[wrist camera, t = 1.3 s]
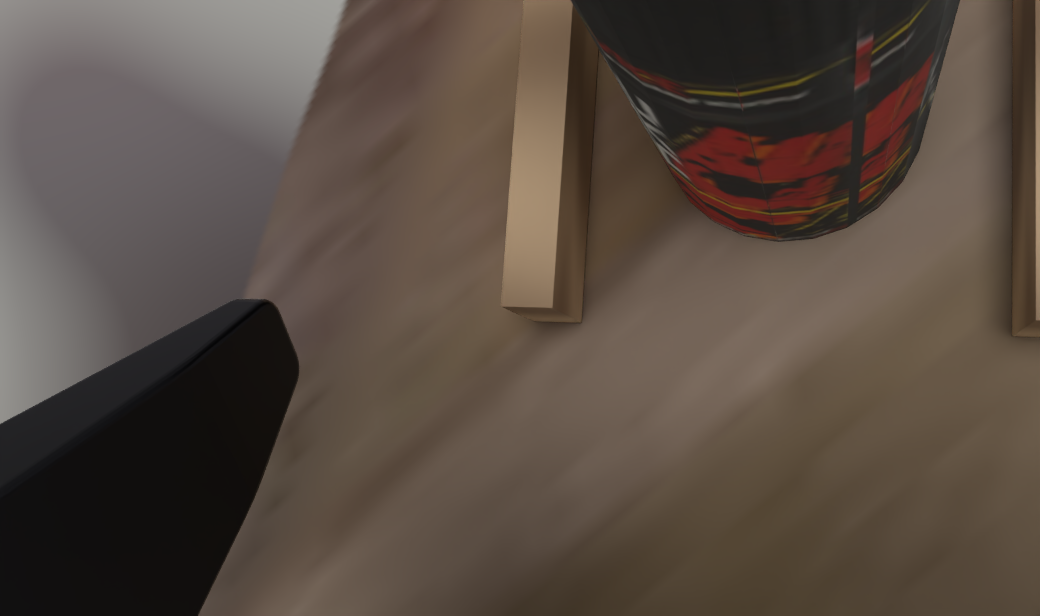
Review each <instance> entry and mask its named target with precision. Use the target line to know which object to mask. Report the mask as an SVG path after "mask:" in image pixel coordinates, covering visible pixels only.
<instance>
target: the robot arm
mask: <svg viewBox="0 0 1040 616" xmlns="http://www.w3.org/2000/svg"><path fill="white" fill-rule="evenodd" d="M298 376H299V361H298V357H297V354H296V351H295V349H294V346H293V344H292V341H291V339H290V337H289V334H288V332H287V329H286V327H285V324H284V322H283V319H282V317H281V314H280V312H279V310H278V308H277V307H276V306H275V305H274V303H272V302H271V301H268V300H266V299H236V300H233V301H230V302H228V303H226V304H224V305H222V306H220V307H219V308H217V309H215V310H213V311H211V312H209V313H208V314H206V315H204V316H202V317H200V318H198V319H196V320H194V321H193V322H190V323H189V324H187V325H185V326H183V327H181V328H179V329H177V330H175V331H174V332H172V333H170V334H168V335H166V336H164V337H163V338H160V339H159V340H157V341H155V342H153V343H151V344H149V345H147V346H145V347H144V348H142V349H140V350H138V351H136V352H134V353H132V354H131V355H129V356H127V357H125V358H123V359H121V360H119V361H117V362H115V363H114V364H112V365H110V366H108V367H106V368H104V369H102V370H101V371H99V372H97V373H95V374H93V375H91V376H89V377H87V378H85V379H84V380H82V381H80V382H78V383H76V384H74V385H72V386H70V387H69V388H67V389H65V390H63V391H61V392H59V393H57V394H55V395H54V396H52V397H50V398H48V399H46V400H44V401H42V402H40V403H39V404H37V405H35V406H33V407H31V408H29V409H27V410H25V411H24V412H22V413H20V414H18V415H16V416H14V417H12V418H10V419H9V420H7V421H5V422H3V423H1V424H0V616H198V615H199V613H200V610H201V608H202V606H203V604H204V602H205V600H206V598H207V596H208V594H209V592H210V590H211V588H212V586H213V584H214V582H215V580H216V578H217V576H218V573H219V571H220V569H221V567H222V565H223V563H224V561H225V559H226V557H227V555H228V553H229V551H230V549H231V547H232V545H233V543H234V541H235V538H236V536H237V534H238V532H239V530H240V528H241V526H242V524H243V522H244V520H245V518H246V516H247V514H248V511H249V509H250V507H251V505H252V503H253V500H254V498H255V495H256V493H257V490H258V488H259V485H260V483H261V480H262V478H263V475H264V472H265V470H266V467H267V464H268V461H269V459H270V456H271V453H272V450H273V448H274V445H275V442H276V439H277V436H278V434H279V431H280V428H281V425H282V423H283V420H284V417H285V414H286V412H287V409H288V406H289V403H290V401H291V398H292V395H293V392H294V390H295V387H296V384H297V381H298Z"/></svg>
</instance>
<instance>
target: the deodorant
mask: <svg viewBox="0 0 1040 616" xmlns="http://www.w3.org/2000/svg"><path fill="white" fill-rule="evenodd" d="M571 2H572V4H573V6H574V7H575V9H576V11H577V12H578V14H579V16H580V18H581V19H582V21H583V23H584V24H585V26H586V28H587V30H588V31H589V33H590V35H591V36H592V38H593V40H594V41H595V43H596V45H597V47H598V48H599V50H600V52H601V53H602V55H603V57H604V59H605V60H606V62H607V64H608V65H609V67H610V69H611V71H612V72H613V74H614V76H615V77H616V79H617V81H618V83H619V84H620V86H621V88H622V89H623V91H624V93H625V95H626V96H627V98H628V100H629V101H630V103H631V105H632V106H633V108H634V110H635V112H636V113H637V115H638V117H639V118H640V120H641V122H642V124H643V125H644V127H645V129H646V130H647V132H648V134H649V136H650V137H651V139H652V141H653V142H654V144H655V146H656V148H657V149H658V151H659V153H660V154H661V156H662V158H663V160H664V161H665V163H666V165H667V166H668V168H669V170H670V171H671V173H672V175H673V177H674V178H675V180H676V181H677V183H678V184H679V186H680V187H681V188H682V190H683V191H684V193H685V194H686V196H687V197H688V199H689V200H690V202H691V203H692V204H694V205H695V206H696V207H697V208H698V209H700V210H701V211H702V212H703V213H704V214H706V215H707V216H708V217H709V218H710V219H712V220H713V221H714V222H715V223H718V224H720V225H722V226H724V227H726V228H729V229H731V230H733V231H735V232H737V233H740V234H742V235H744V236H749V237H755V238H761V239H767V240H772V241H791V240H802V239H813V238H816V237H819V236H822V235H825V234H828V233H831V232H834V231H838V230H841V229H844V228H847V227H848V226H850V225H852V224H853V223H855V222H856V221H858V220H860V219H861V218H863V217H864V216H866V215H867V214H869V213H871V212H872V211H874V210H875V209H877V208H878V207H879V206H880V205H881V204H882V203H883V202H884V201H885V200H886V199H887V198H888V196H889V195H890V194H891V193H892V192H893V191H894V190H895V189H896V188H897V187H898V186H899V185H900V184H901V183H902V181H903V180H904V178H905V176H906V174H907V172H908V170H909V168H910V166H911V165H912V163H913V161H914V159H915V157H916V155H917V153H918V151H919V148H920V144H921V141H922V137H923V133H924V130H925V126H926V122H927V119H928V115H929V111H930V108H931V104H932V100H933V97H934V93H935V90H936V86H937V82H938V79H939V75H940V71H941V68H942V64H943V60H944V57H945V53H946V49H947V46H948V42H949V38H950V35H951V31H952V27H953V24H954V20H955V16H956V13H957V9H958V5H959V2H960V0H571Z"/></svg>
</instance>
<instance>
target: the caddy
mask: <svg viewBox="0 0 1040 616" xmlns="http://www.w3.org/2000/svg"><path fill="white" fill-rule="evenodd" d="M598 51H599V48H598V47H597V45H596V43H595V41H594V40H593V38H592V36H591V35H590V33H589V31H588V30H587V28H586V26H585V24H584V23H583V21H582V19H581V18H580V16H579V14H578V12H577V11H576V9H575V7H574V6H573V4H572V2H571V0H523V14H522V27H521V41H520V54H519V68H518V81H517V94H516V108H515V121H514V135H513V148H512V162H511V175H510V189H509V202H508V216H507V229H506V243H505V256H504V269H503V283H502V296H501V307H503V308H506V309H508V310H510V311H512V312H515V313H517V314H519V315H521V316H524V317H526V318H528V319H530V320H533V321H539V322H572V323H581V322H582V306H583V290H584V274H585V258H586V242H587V226H588V210H589V194H590V178H591V163H592V147H593V131H594V115H595V99H596V83H597V67H598ZM1012 336H1022V337H1040V0H1013V127H1012Z"/></svg>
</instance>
